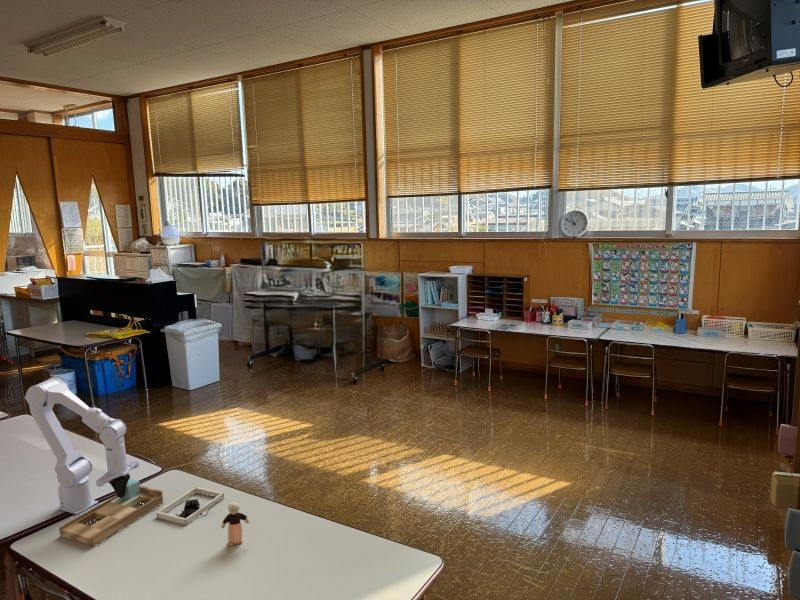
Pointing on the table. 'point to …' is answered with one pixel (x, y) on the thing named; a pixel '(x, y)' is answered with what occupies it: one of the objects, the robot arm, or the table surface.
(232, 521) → the grandmother figurine
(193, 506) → the black angular piece
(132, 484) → the teal block
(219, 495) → the frame
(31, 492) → the table surface
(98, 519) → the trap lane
